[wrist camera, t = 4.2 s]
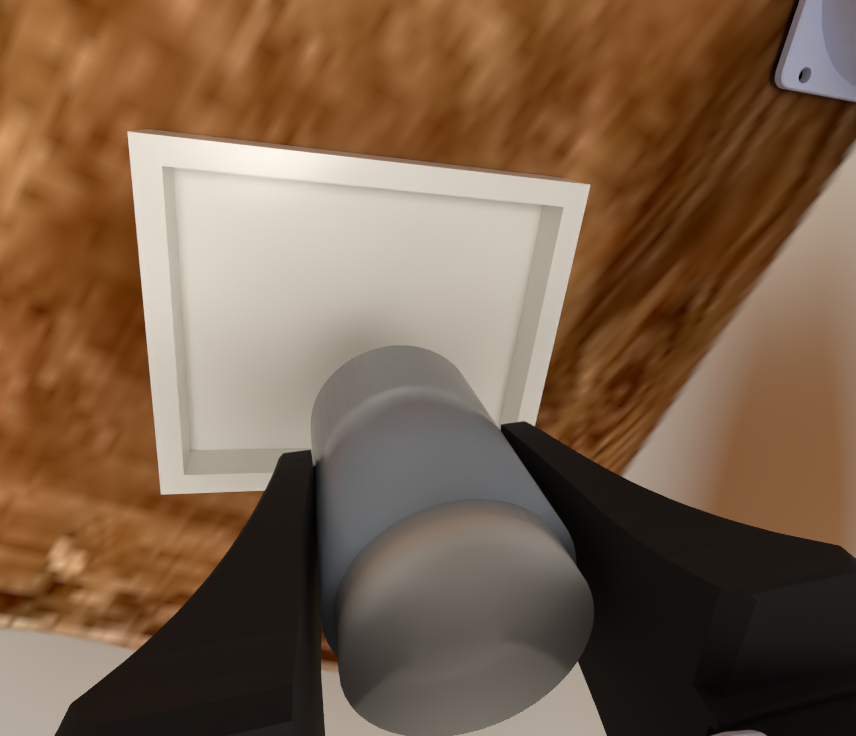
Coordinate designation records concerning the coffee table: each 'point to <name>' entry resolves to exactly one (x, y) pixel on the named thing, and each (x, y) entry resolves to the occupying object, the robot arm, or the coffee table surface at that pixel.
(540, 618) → the cylinder
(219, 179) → the tray
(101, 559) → the coffee table surface
